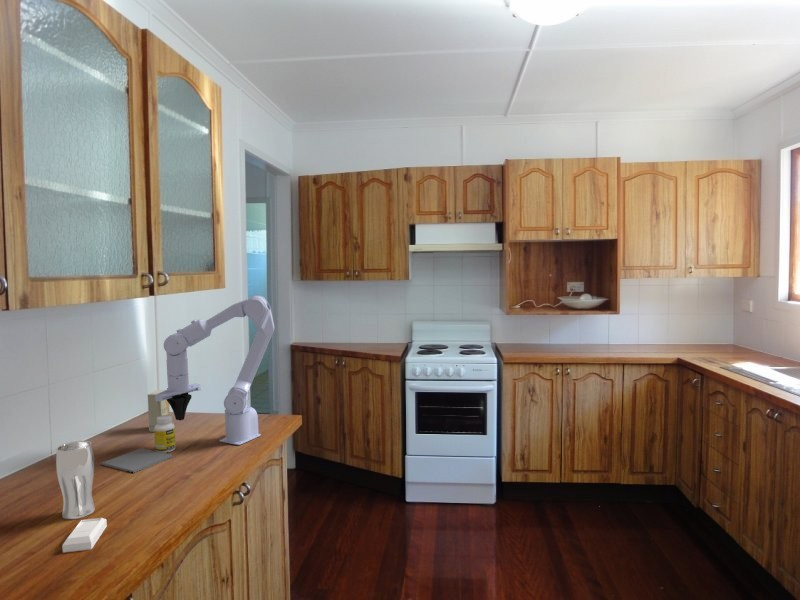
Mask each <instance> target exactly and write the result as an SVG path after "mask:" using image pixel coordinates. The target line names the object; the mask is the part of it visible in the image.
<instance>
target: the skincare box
mask: <svg viewBox="0 0 800 600" xmlns="http://www.w3.org/2000/svg"><path fill="white" fill-rule="evenodd" d="M165 390H166V389H165ZM165 390H164V389H156V390H154V391H151V392H150V393H148V394H147V406H148V407H147V411H148V431H149V432H151V433H154V427H155V426H156V425H157V424H158V423H157V417H159V416H163V415H171V412H170V411H171V410H170V409H171V408H170V404H169V403H168V401H167V400H166V399H165V400H163V401H161V402H159V401H155V394H158V393H161V392H163V391H165Z"/></svg>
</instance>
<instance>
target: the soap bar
mask: <svg viewBox="0 0 800 600" xmlns="http://www.w3.org/2000/svg"><path fill="white" fill-rule="evenodd" d="M107 523H108V522H107V519H106V518H103V517H98V518H88V519H81V520H80V521H79V522H78V523H77V525H76V527H74V529H73V530H72V531H71V533H70V534H69V535H68V536H67V538H66V539H65V540H64V542H63V543H62V545H61V546H62V548H61V549H62V553H63V554H64V553H71V552H72V553H73V552H79V551H89V550H92V549H93V548H94V546H95V545H96V543H97V542H98V540H99V539H100V537H101V536H102V534H103V533H104V531H105V529H106V528H107V526H108V524H107Z"/></svg>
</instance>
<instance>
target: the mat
mask: <svg viewBox="0 0 800 600" xmlns="http://www.w3.org/2000/svg"><path fill="white" fill-rule="evenodd" d="M169 458H170V459H172V458H173V455H172V454H168V453H161V452H156V451H155V450H152V449H146V448H143V447H141V448H138V449H135V450H133V451H130V452H127V453H124V454H121V455H118V456H117V457H113V458H111V459H108V460H104V461H103V462H101V465H102V466H105V467H108V468H112V469H116V470H120V471H123V470H124V472H127V471H129V472H128V473H131V472H133V473H132V474H135V473H137V471H138V472H140V471H143V470H146V469H147V467H148V468H150V467H153V466H155V465H157V464H160V463H162V462H164V460H165V461H167V460H170V459H169ZM161 461H162V462H161ZM159 462H160V463H159ZM154 464H155V465H154ZM152 465H153V466H152ZM142 469H143V470H142ZM139 470H140V471H139ZM134 472H135V473H134Z"/></svg>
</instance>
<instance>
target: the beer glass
mask: <svg viewBox="0 0 800 600" xmlns="http://www.w3.org/2000/svg"><path fill="white" fill-rule="evenodd" d="M92 444H93V442H91V441H89V440H77V441H75V440H74V441H71V442H67V443H64V444H61V445H59V446H57V447H56V449H55V450H56V454H55V455H56V457H55V461H56V463H55V465H56V467H55V468H56V475H57V482H58V483H59V487H60V490H61V495H62V501H63V506H62V514H61V516H62V518H63V519H65V520H77V519H82V518H85V517H87V516H89V515H92V514H93V513H94V512H95V509H96V506H95V504H94V503H95V502H94V500H93V494H92V493H93V492H92V491H93V490H92V489H93V482H94V474H95V457H94V450H93V445H92Z"/></svg>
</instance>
